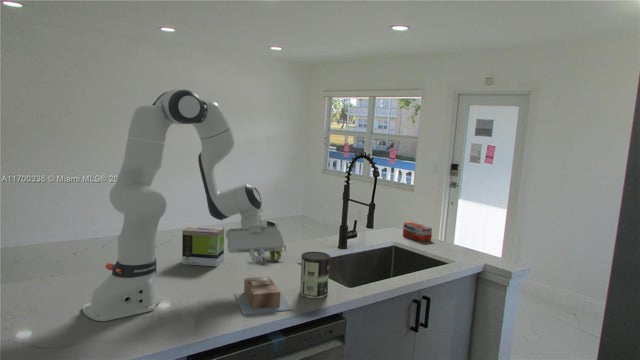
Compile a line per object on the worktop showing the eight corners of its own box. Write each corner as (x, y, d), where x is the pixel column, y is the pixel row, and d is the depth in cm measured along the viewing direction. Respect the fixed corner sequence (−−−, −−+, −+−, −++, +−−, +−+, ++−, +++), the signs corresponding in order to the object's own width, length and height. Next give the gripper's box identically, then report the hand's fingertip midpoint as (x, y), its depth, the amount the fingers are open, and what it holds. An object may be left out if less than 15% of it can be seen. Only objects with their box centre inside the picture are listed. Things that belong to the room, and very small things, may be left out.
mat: (234, 294, 152) (234, 293, 152) (278, 290, 158) (278, 289, 158) (243, 315, 137) (243, 314, 137) (292, 310, 142) (292, 309, 142)
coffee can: (325, 287, 164) (327, 251, 162) (330, 298, 154) (332, 259, 152) (297, 287, 162) (299, 251, 160) (301, 298, 152) (303, 259, 150)
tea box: (224, 260, 189) (225, 227, 187) (216, 267, 179) (217, 232, 177) (190, 257, 190) (191, 224, 188) (181, 264, 180) (181, 229, 179)
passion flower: (258, 270, 196) (248, 243, 200) (282, 262, 202) (272, 236, 206) (266, 262, 186) (255, 234, 190) (291, 254, 192) (280, 226, 196)
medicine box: (431, 241, 243) (432, 227, 242) (420, 242, 238) (422, 228, 237) (412, 234, 255) (413, 221, 254) (401, 235, 251) (403, 222, 250)
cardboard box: (244, 291, 154) (252, 309, 141) (244, 277, 154) (253, 293, 140) (268, 289, 158) (279, 306, 144) (269, 275, 157) (280, 291, 143)
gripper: (226, 224, 156) (229, 259, 148) (281, 222, 163) (287, 255, 155) (224, 233, 160) (227, 267, 153) (278, 231, 168) (283, 264, 160)
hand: (258, 261), depth 154 cm, fingers closed
